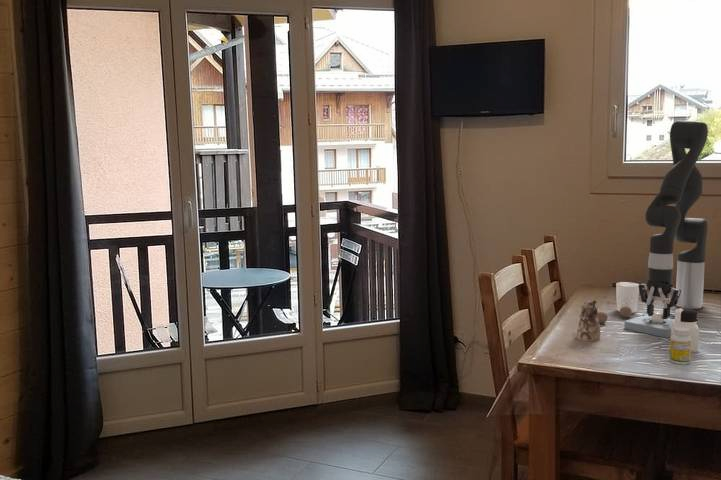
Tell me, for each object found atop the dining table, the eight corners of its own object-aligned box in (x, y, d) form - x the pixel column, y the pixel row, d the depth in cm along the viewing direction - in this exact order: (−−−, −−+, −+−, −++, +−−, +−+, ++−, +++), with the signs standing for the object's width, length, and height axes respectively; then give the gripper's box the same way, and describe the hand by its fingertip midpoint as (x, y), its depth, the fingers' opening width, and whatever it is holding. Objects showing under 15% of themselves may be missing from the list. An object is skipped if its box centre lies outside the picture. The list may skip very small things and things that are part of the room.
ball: (654, 322, 242) (655, 310, 241) (666, 324, 238) (667, 312, 238) (648, 324, 239) (649, 312, 239) (660, 326, 236) (660, 314, 235)
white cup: (639, 313, 260) (641, 286, 259) (616, 313, 261) (618, 285, 260) (636, 308, 268) (637, 282, 266) (613, 308, 269) (614, 281, 268)
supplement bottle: (686, 366, 200) (688, 332, 199) (666, 362, 204) (668, 329, 202) (692, 361, 204) (694, 328, 203) (672, 358, 208) (674, 325, 206)
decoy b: (599, 321, 250) (599, 309, 250) (609, 323, 247) (610, 311, 247) (592, 322, 248) (593, 311, 247) (602, 325, 245) (603, 313, 244)
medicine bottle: (695, 346, 219) (697, 307, 218) (698, 352, 213) (700, 312, 211) (670, 344, 222) (672, 305, 220) (671, 350, 215) (674, 311, 213)
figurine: (571, 336, 231) (573, 299, 229) (589, 334, 234) (591, 297, 232) (586, 342, 225) (588, 304, 223) (604, 339, 227) (606, 302, 226)
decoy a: (623, 315, 258) (623, 304, 257) (633, 317, 255) (634, 306, 254) (617, 317, 255) (617, 306, 255) (627, 319, 252) (628, 308, 252)
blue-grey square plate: (648, 321, 249) (648, 314, 249) (690, 329, 238) (691, 322, 238) (624, 328, 240) (624, 321, 240) (667, 337, 229) (667, 330, 228)
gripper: (687, 267, 233) (684, 319, 235) (646, 262, 244) (643, 311, 246) (675, 270, 228) (672, 323, 231) (634, 264, 239) (631, 315, 242)
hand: (657, 317), depth 238 cm, fingers open, 4 cm apart
